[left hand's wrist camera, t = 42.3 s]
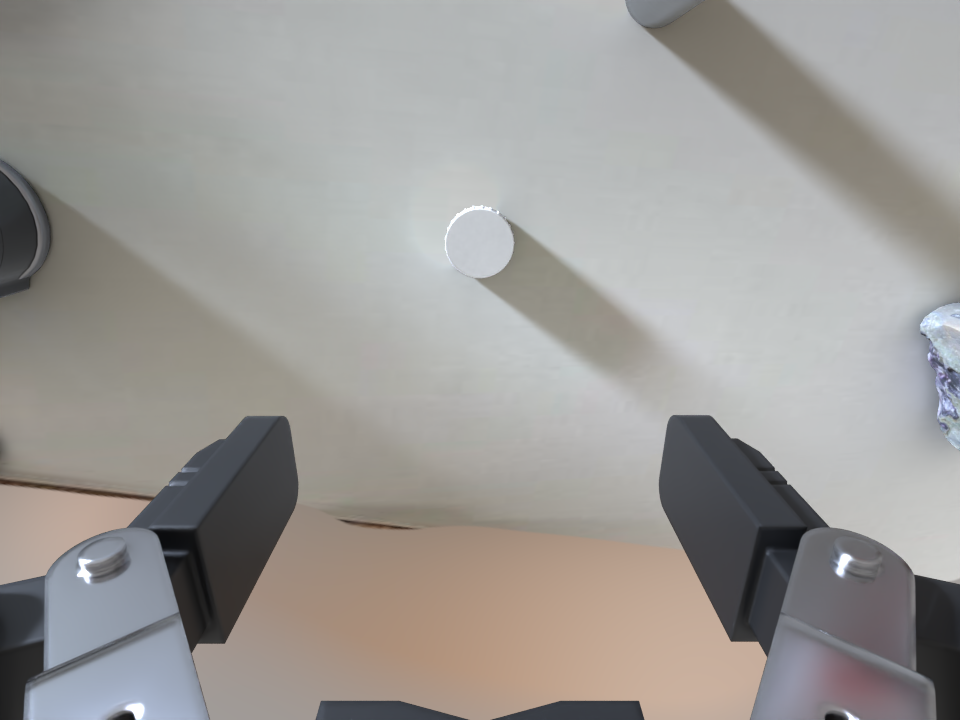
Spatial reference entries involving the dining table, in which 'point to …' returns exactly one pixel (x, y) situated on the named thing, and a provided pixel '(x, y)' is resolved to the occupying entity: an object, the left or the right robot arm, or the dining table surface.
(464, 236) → the lid
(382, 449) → the dining table surface
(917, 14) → the dining table surface
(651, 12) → the slim metal bottle
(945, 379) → the mineral rock
